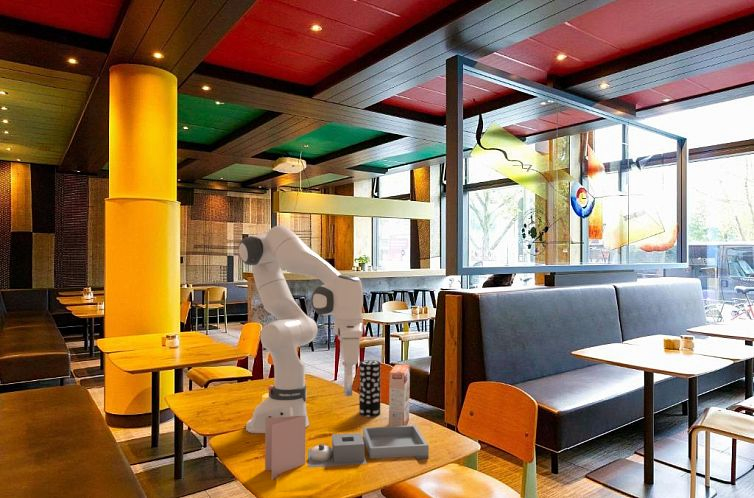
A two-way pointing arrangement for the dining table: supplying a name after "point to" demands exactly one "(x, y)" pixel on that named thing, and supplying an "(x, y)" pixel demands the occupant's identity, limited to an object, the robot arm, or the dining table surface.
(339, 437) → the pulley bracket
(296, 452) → the greeting card
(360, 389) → the white-spotted black cylinder
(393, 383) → the cracker box
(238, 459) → the dining table surface
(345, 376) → the lock pin
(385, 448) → the tray
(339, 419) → the dining table surface
